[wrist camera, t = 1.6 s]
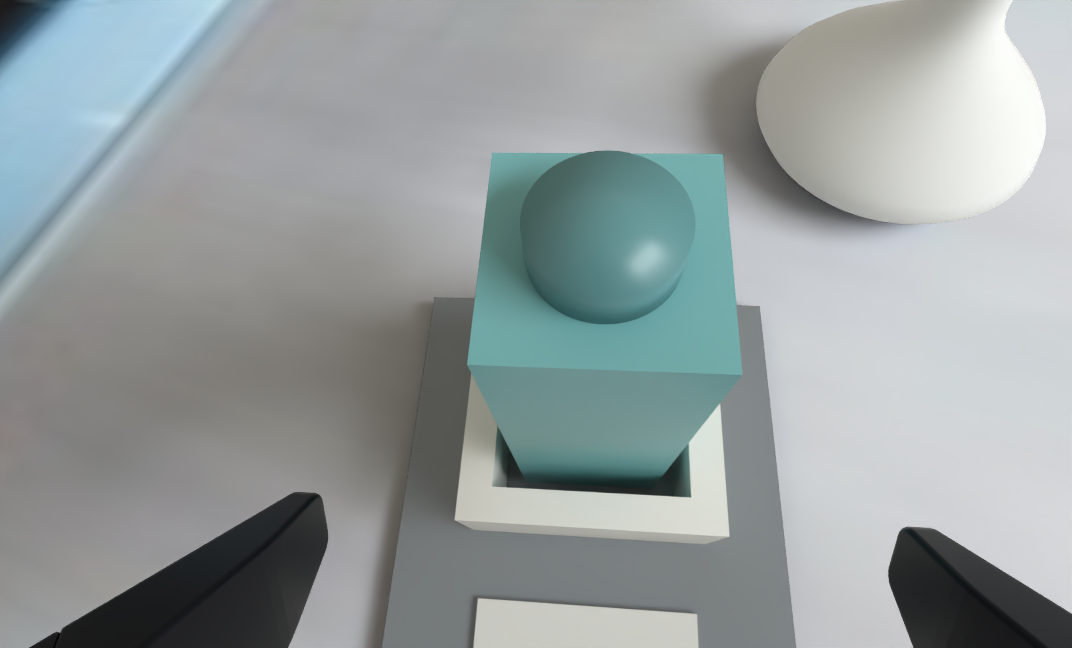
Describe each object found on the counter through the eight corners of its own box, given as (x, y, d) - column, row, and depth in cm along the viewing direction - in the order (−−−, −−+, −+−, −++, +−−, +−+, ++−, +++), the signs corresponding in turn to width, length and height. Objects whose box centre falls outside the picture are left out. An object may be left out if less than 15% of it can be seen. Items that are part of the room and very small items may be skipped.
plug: (652, 488, 20) (761, 351, 8) (526, 482, 20) (455, 341, 9) (649, 369, 22) (736, 114, 10) (533, 365, 22) (484, 114, 10)
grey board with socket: (821, 955, 15) (897, 1071, 12) (350, 899, 16) (285, 988, 13) (755, 312, 23) (788, 262, 19) (437, 303, 24) (412, 254, 21)
